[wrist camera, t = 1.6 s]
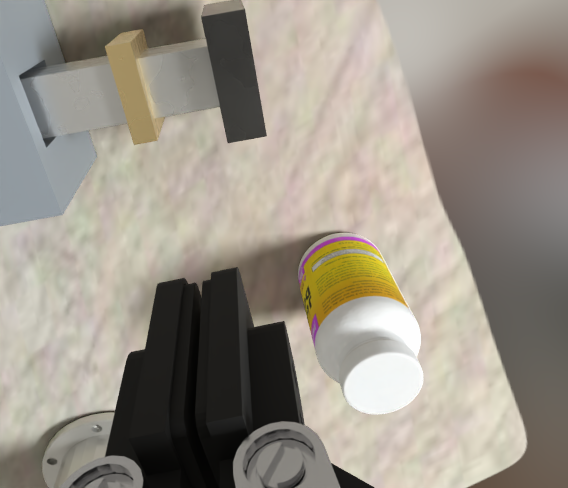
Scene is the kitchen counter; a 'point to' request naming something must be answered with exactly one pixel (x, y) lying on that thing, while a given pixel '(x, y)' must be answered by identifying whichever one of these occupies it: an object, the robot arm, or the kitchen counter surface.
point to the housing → (33, 123)
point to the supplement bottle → (360, 323)
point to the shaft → (154, 82)
